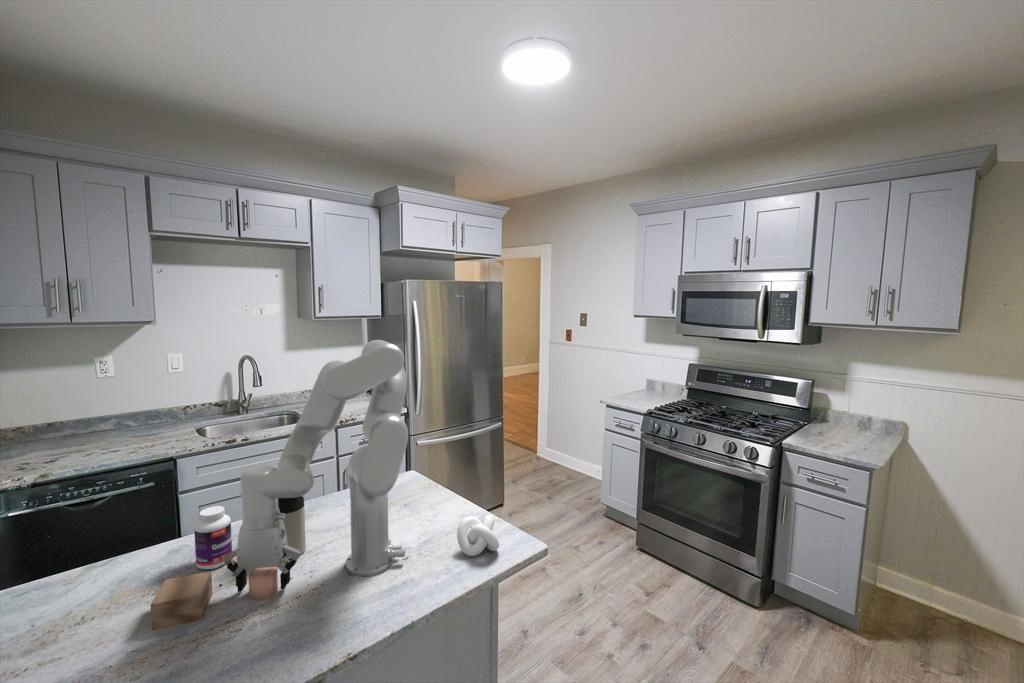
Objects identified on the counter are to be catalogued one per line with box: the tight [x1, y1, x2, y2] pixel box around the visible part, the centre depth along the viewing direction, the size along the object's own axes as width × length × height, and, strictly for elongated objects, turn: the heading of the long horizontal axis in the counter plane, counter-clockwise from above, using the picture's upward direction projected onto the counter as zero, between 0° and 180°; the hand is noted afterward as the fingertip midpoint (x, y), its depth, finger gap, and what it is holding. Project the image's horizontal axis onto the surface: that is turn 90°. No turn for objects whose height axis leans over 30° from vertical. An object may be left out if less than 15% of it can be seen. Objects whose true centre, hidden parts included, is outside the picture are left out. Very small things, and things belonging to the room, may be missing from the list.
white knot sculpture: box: [456, 514, 500, 557], centre depth 127 cm, size 11×12×9 cm
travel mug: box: [278, 495, 307, 560], centre depth 124 cm, size 8×8×18 cm
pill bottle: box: [193, 505, 233, 570], centre depth 119 cm, size 8×8×14 cm
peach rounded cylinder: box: [248, 566, 279, 602], centre depth 108 cm, size 6×6×5 cm
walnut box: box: [150, 571, 213, 631], centre depth 101 cm, size 9×9×6 cm
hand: (263, 587), depth 108 cm, fingers open, 9 cm apart
